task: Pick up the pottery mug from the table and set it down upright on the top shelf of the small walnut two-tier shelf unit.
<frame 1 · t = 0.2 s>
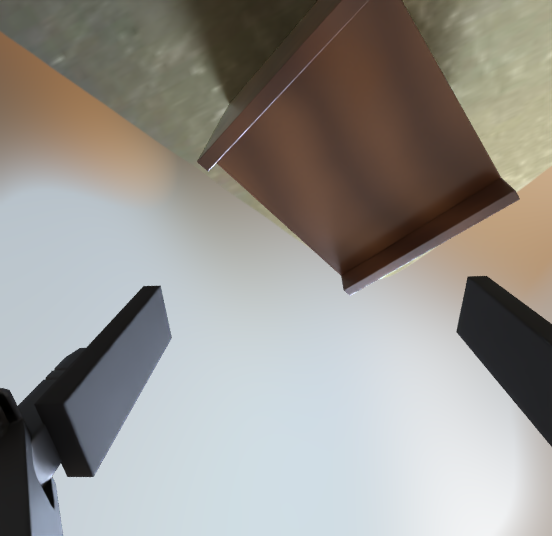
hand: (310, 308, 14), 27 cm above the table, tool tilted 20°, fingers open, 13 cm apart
shelf: (338, 117, 34), on the table
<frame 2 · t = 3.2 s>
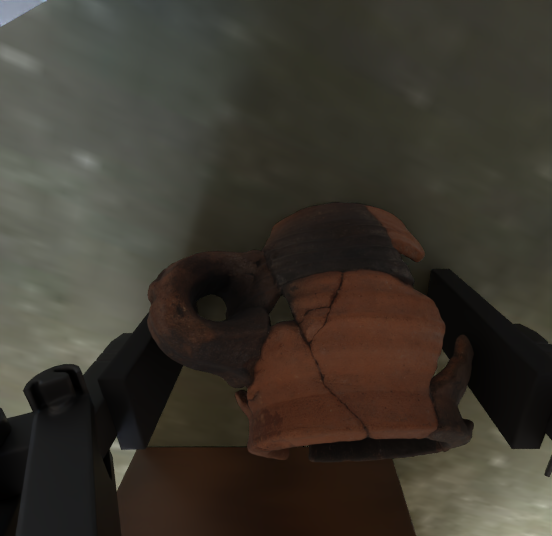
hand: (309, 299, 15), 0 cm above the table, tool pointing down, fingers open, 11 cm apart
shelf: (269, 535, 23), on the table
pottery mug: (309, 295, 15), on the table, touching gripper
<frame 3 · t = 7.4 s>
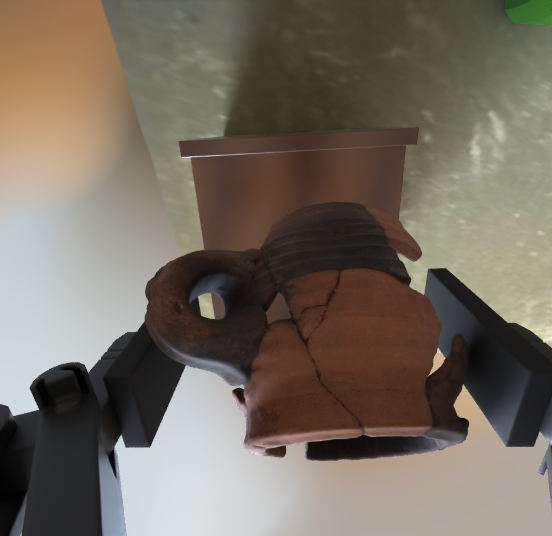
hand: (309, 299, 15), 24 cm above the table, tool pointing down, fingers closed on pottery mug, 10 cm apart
shelf: (296, 216, 37), on the table
pottery mug: (307, 294, 15), point 23 cm above the table, touching gripper
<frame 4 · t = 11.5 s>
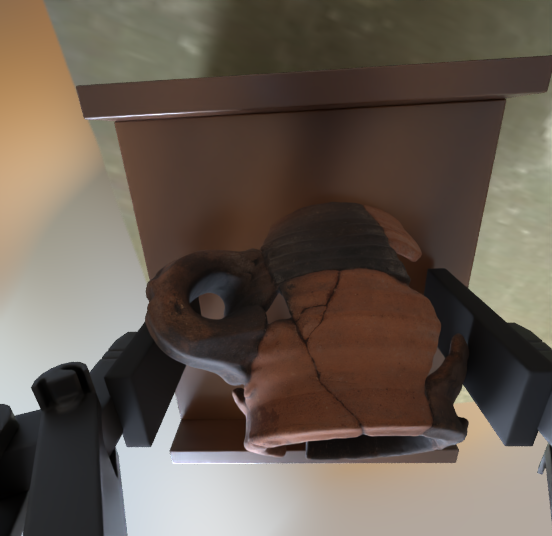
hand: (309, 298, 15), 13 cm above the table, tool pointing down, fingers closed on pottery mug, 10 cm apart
shelf: (298, 223, 27), on the table
pottery mug: (307, 294, 15), point 13 cm above the table, touching gripper
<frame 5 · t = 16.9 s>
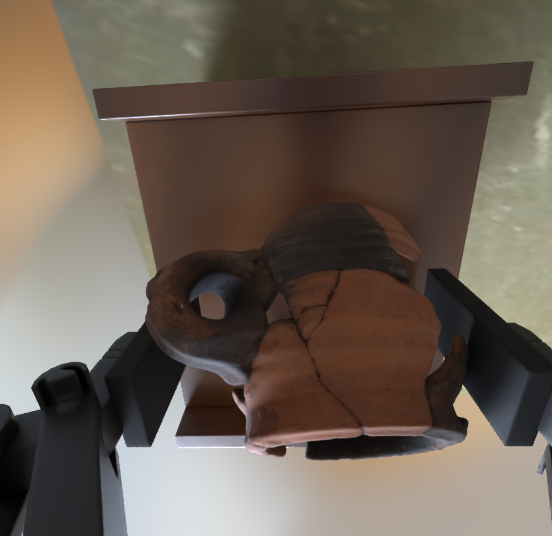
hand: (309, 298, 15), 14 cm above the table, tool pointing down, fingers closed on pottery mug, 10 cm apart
shelf: (298, 221, 28), on the table
pottery mug: (307, 294, 15), point 14 cm above the table, touching gripper
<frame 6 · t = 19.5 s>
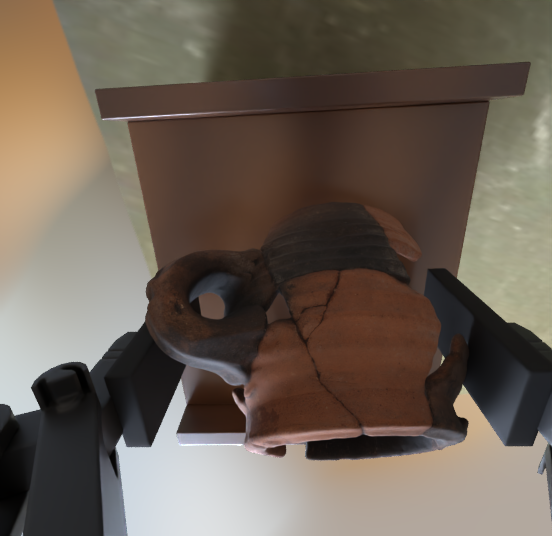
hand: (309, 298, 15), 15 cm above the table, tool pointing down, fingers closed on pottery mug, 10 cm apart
shelf: (298, 220, 28), on the table
pottery mug: (307, 294, 15), point 14 cm above the table, touching gripper
when the fingers open (14 cm above the table, at t = 22.0 s): pottery mug drops 1 cm, resting on shelf.
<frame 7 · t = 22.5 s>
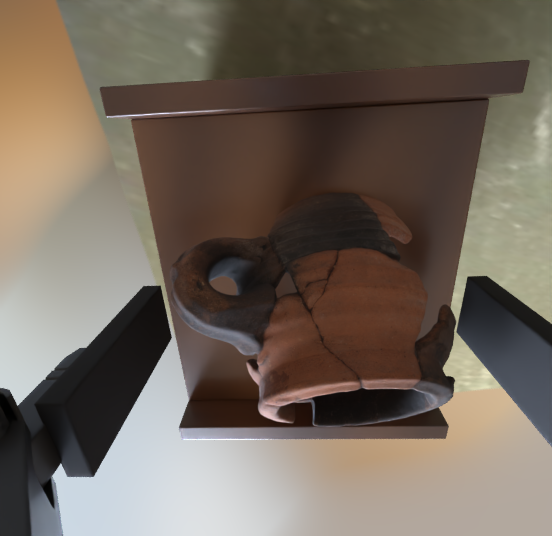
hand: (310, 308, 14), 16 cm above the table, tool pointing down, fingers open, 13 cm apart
shelf: (299, 218, 28), on the table
pottery mug: (310, 278, 17), point 13 cm above the table, touching shelf
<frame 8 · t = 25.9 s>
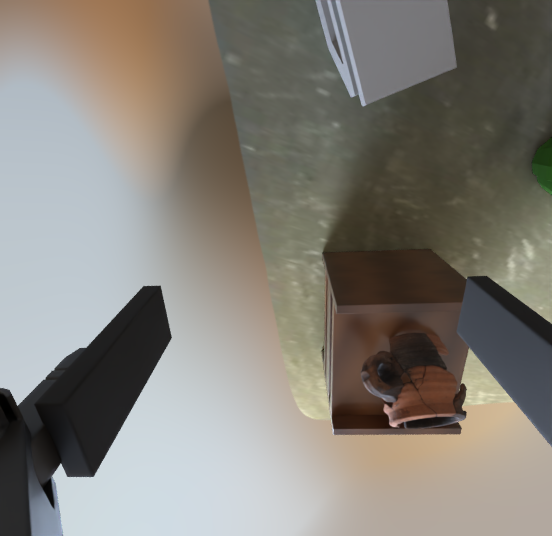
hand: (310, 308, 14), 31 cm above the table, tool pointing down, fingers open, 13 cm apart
shelf: (371, 306, 49), on the table
pottery mug: (399, 361, 37), point 13 cm above the table, touching shelf
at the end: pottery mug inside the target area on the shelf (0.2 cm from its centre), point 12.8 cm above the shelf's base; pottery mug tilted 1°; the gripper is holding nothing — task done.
